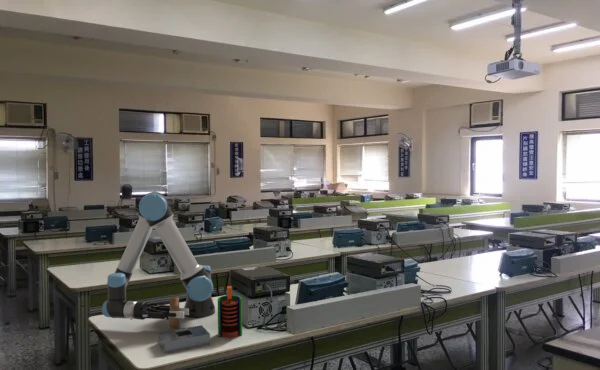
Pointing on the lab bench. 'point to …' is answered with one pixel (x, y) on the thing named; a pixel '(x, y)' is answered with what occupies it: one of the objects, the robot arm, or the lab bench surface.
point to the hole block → (183, 339)
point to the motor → (229, 315)
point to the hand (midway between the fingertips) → (186, 313)
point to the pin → (174, 307)
